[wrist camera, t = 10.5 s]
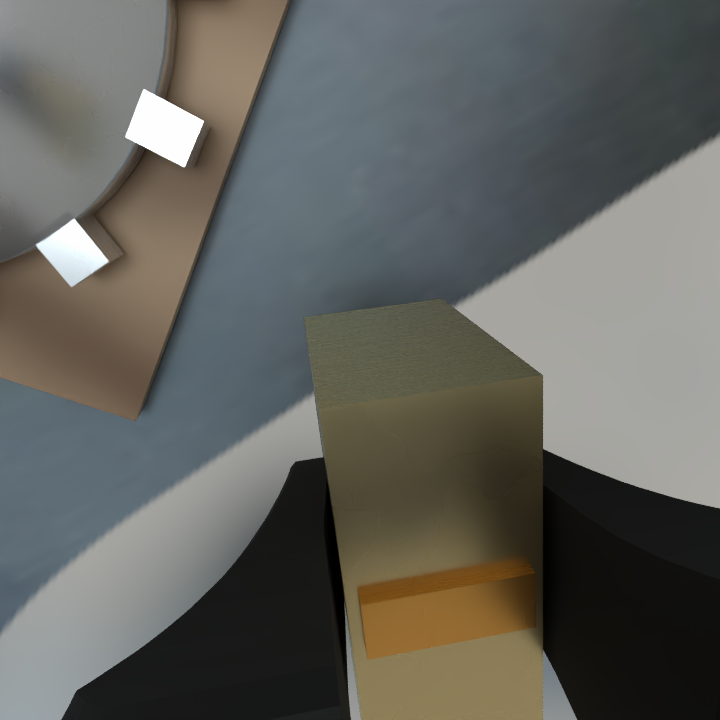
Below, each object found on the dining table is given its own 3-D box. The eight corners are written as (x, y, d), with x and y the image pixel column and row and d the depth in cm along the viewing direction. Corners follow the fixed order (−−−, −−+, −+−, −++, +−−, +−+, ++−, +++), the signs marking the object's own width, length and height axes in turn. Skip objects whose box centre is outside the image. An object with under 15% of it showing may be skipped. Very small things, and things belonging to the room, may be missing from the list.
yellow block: (457, 565, 14) (548, 765, 10) (341, 586, 14) (374, 803, 9) (441, 298, 12) (549, 380, 7) (303, 317, 12) (319, 414, 7)
